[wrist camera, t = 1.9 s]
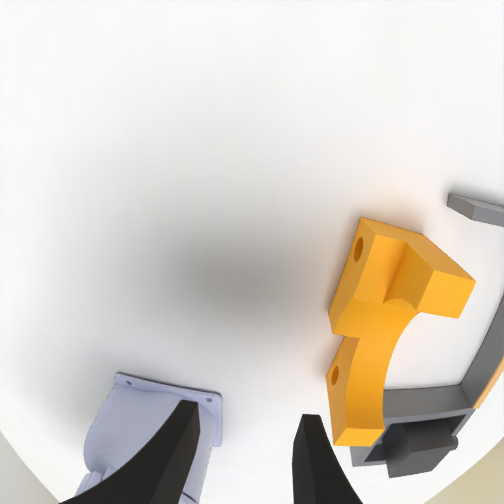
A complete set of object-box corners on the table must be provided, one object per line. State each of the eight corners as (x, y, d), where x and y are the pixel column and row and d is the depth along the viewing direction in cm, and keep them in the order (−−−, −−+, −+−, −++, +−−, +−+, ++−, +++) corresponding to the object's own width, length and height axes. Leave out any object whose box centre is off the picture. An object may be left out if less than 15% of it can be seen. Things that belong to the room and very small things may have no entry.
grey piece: (349, 442, 24) (354, 488, 19) (438, 191, 15) (490, 216, 10) (431, 434, 24) (444, 474, 18) (533, 216, 15) (581, 242, 10)
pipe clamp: (360, 216, 17) (398, 261, 11) (422, 234, 17) (476, 281, 11) (303, 372, 21) (306, 443, 15) (356, 379, 21) (370, 446, 15)
